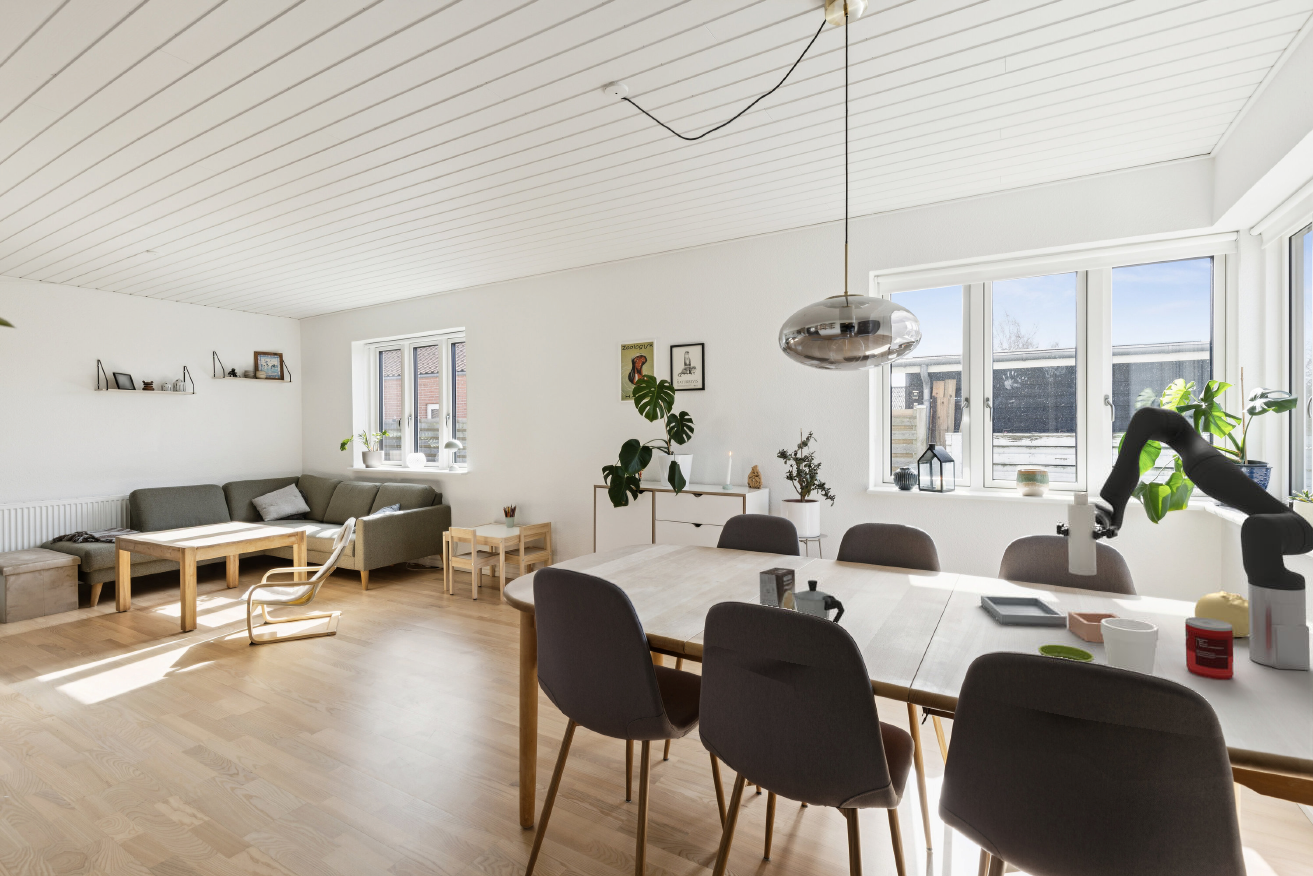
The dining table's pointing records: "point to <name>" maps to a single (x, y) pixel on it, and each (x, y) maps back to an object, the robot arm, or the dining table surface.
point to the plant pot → (1066, 652)
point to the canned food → (1209, 648)
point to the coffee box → (778, 588)
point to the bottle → (1081, 536)
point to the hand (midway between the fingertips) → (1079, 534)
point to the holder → (1088, 624)
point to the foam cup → (1130, 643)
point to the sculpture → (1225, 611)
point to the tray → (1023, 611)
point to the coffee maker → (817, 602)
